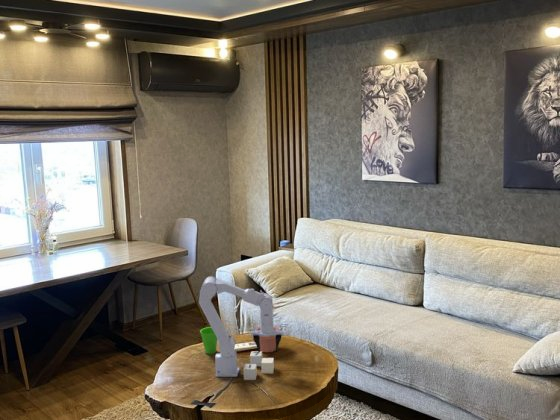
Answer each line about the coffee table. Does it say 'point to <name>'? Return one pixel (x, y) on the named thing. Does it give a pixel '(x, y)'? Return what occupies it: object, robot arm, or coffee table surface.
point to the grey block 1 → (250, 371)
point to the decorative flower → (267, 340)
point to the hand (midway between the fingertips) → (268, 351)
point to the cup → (209, 340)
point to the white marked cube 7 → (256, 358)
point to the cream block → (267, 365)
